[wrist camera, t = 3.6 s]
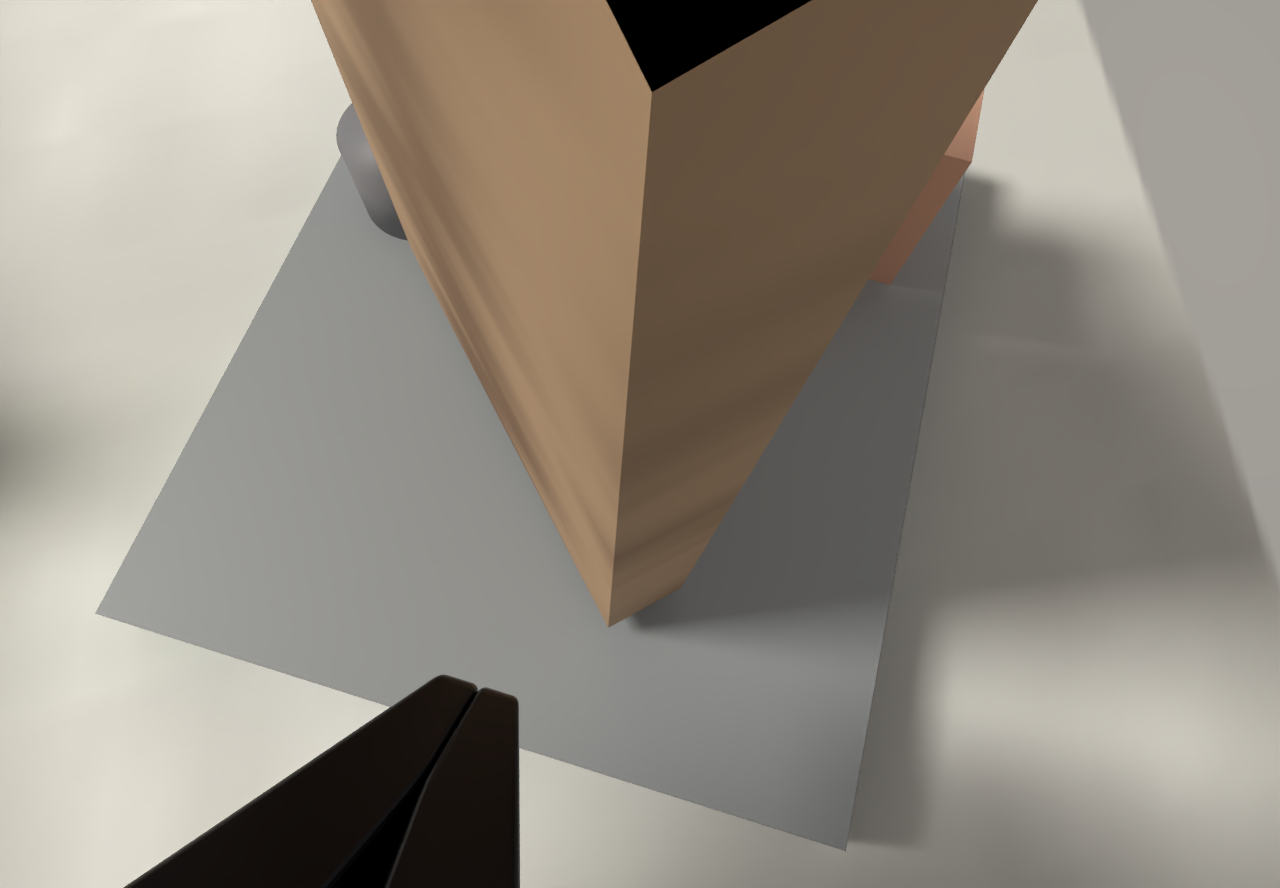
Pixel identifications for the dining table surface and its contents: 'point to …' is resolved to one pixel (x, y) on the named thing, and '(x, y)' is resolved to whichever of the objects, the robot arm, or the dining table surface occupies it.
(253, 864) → the robot arm
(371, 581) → the board
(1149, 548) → the dining table surface
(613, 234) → the brown wooden panel
